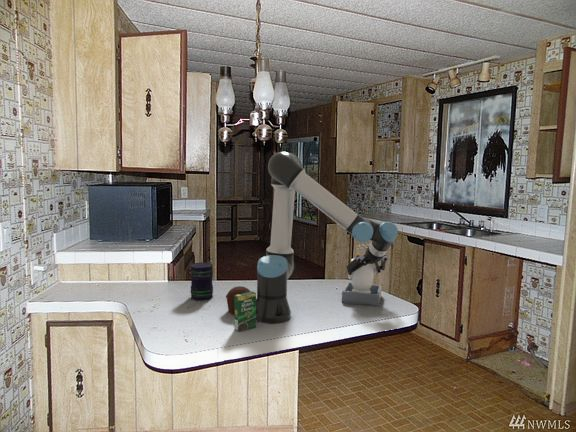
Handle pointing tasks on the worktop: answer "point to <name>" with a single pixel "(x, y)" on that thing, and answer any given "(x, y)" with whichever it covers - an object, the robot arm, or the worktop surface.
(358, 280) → the white tapered cylinder
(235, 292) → the muffin
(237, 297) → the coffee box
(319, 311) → the worktop surface
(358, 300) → the bin
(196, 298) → the storage jar
